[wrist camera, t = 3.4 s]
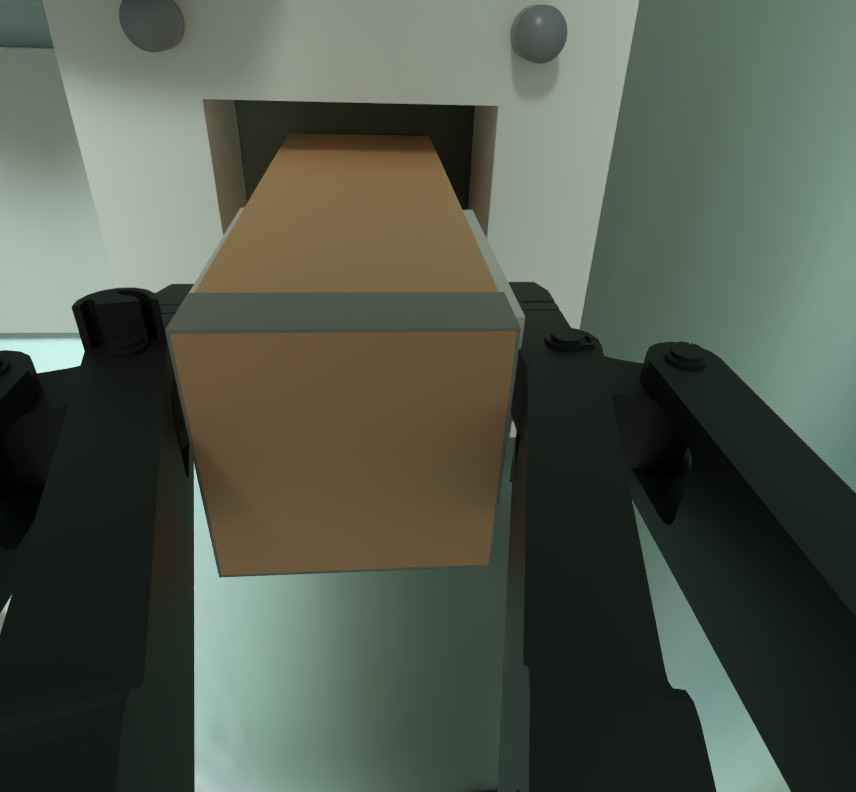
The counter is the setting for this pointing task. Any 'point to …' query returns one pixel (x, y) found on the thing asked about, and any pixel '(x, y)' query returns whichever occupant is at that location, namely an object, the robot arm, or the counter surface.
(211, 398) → the plug
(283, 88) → the frame
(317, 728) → the counter surface
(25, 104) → the mat
